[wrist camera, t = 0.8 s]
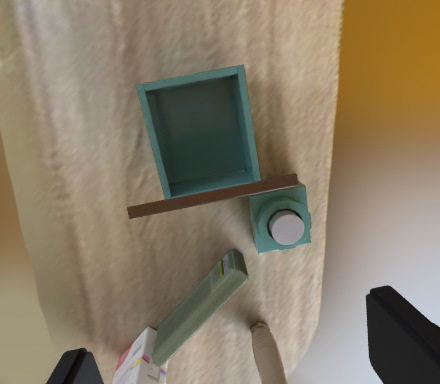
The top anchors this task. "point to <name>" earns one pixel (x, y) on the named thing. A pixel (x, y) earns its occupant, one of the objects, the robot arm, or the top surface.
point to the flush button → (286, 227)
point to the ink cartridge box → (140, 362)
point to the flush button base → (271, 204)
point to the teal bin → (201, 131)
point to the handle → (267, 355)
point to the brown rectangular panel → (212, 196)
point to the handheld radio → (200, 306)
